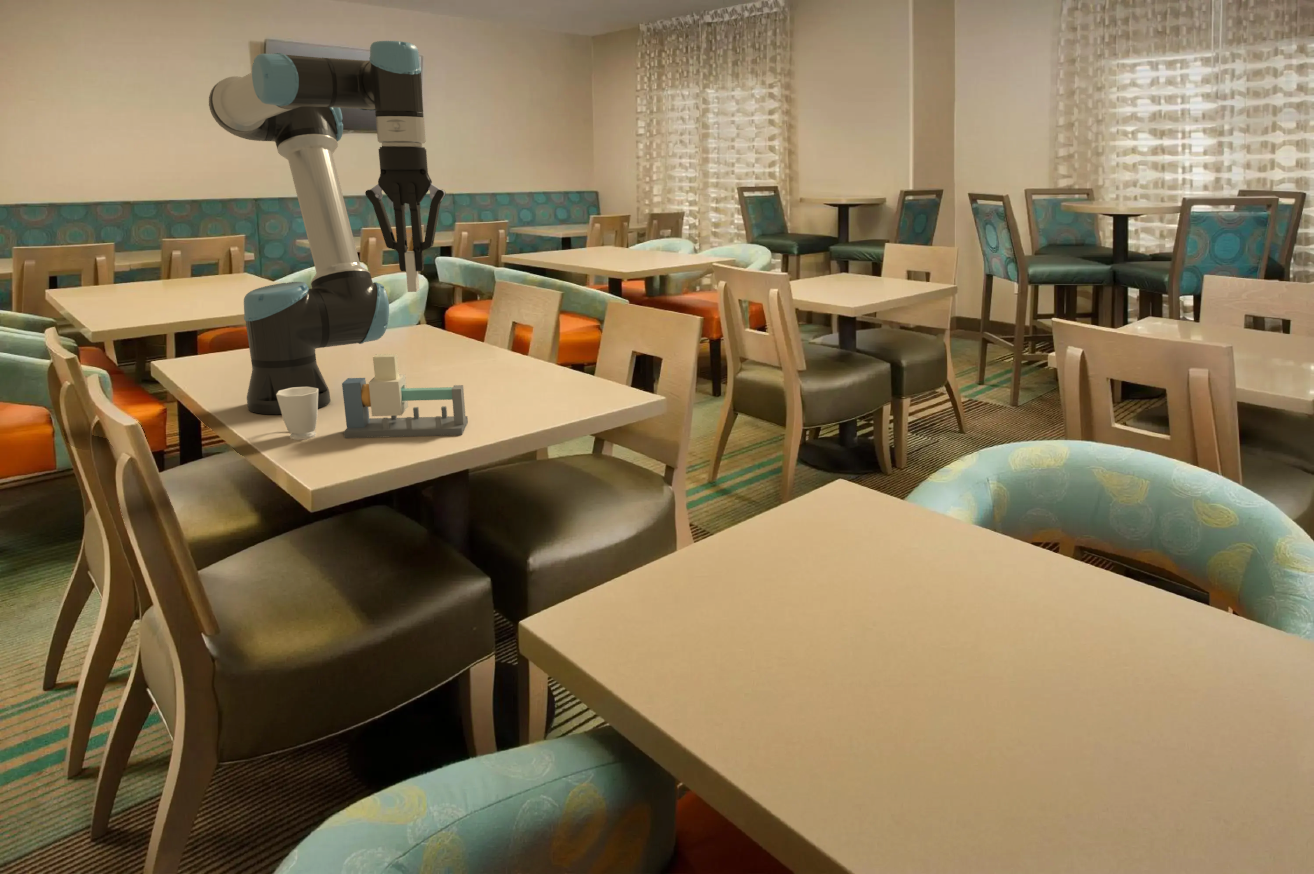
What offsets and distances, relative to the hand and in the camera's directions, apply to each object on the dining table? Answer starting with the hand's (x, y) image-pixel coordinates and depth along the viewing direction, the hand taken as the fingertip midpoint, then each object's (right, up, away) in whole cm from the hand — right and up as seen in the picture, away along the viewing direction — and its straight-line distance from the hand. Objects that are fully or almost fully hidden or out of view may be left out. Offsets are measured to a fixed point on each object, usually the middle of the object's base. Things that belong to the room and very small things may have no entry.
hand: (413, 290), depth 150 cm
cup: (-21, -25, +4) cm, 33 cm away
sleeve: (-5, -20, +5) cm, 22 cm away
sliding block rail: (-3, -24, +6) cm, 25 cm away
